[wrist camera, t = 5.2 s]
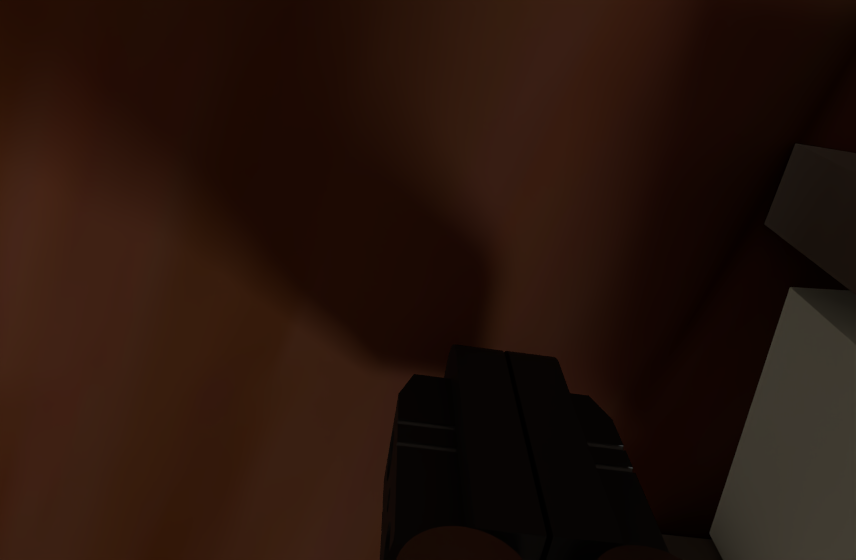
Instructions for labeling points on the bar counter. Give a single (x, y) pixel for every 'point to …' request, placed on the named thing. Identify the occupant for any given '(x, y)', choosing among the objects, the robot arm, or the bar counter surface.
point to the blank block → (798, 441)
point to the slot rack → (805, 246)
